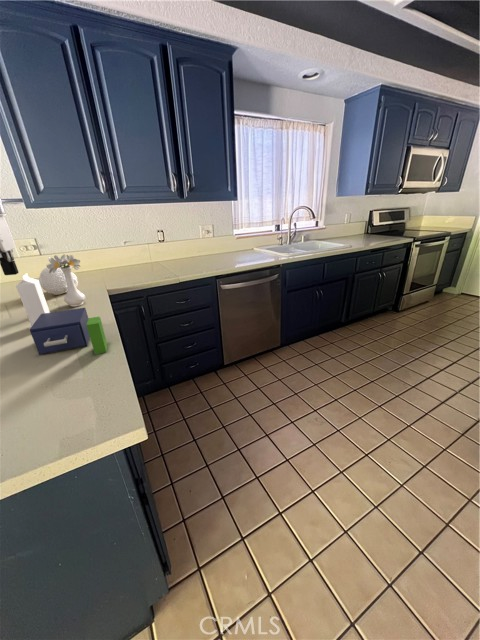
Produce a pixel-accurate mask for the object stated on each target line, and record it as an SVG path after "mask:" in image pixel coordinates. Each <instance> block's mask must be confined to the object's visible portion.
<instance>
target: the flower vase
mask: <svg viewBox="0 0 480 640" xmlns="http://www.w3.org/2000/svg"><path fill="white" fill-rule="evenodd" d="M48 262H49V263H47V264H46V268H48V269H50V270H49V273H51V272H52V270H53V273H54V272H55V271H56V270H57V268H60V269H61V270H62V272H63V273H64V276H65V279H66V282H67V287H68V291H67V292H66V293H65V295H64V297H63V301H64V302H65V303H66V304H67V305H69V306H70V307H73V308H75V307H81V306H82V305H84V302H85V301H86V299H87V298H86V295H85V294H84V293H83V292H82V291H81V290H79V289H78V288H77V287H76V286H75V284H74V281H73V278H72V274H71V272H72V269H74V270H77V271H80V267H81V265H80V263H81V260H80V259H77V258H75V257H74V256H73V254H69V255H68V254H62V255H61V256H59V255H58V254H57V255H55V254H54V255H53V257H50V256H48Z"/></svg>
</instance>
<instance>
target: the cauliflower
mask: <svg viewBox="0 0 480 640" xmlns="http://www.w3.org/2000/svg"><path fill="white" fill-rule="evenodd" d="M49 270H50V269H48V268H47V267H45V268H43V269H42V271H40V274H39V276H38V280H39V283H40V286H41V289H42V290H43V291H45V292H46V293H49V294H51V295H54V296H57V295H58V296H59V295H63V294H66V293H67V291H68V287H67V282H66V279H65V276H64V273H63V272H62V270H61V269H60V268H57V270H56V271H55V272H54V273H53V270H52V272H51V273H49ZM71 274H72V278H73V281H74V284H75V286H76V288H77V287H78V285H79V281H78V277H77V276H76V274H75V273H73V272H72V271H71Z"/></svg>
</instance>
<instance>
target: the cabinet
mask: <svg viewBox="0 0 480 640" xmlns="http://www.w3.org/2000/svg"><path fill="white" fill-rule="evenodd" d="M88 318H89V316H88V312H87V309H86V307H79V308H73V309H71V308H70V309H65V310H57V311H51V312H50V313H44V314H41V315H40V316H39V317H38V319H37V320H36V321H35V323H34V324H33V326H31V327H30V328H29V333H30V335H31V337H32V340H33V342H34V345H35V348H36V351H37V352H38V355H39V356H41V355H46V354H52V353H57V352H58V353H59V352H64V351H68V350H72V349H73V350H74V349H80V348H84V347H88V345H89V341H90V335H89V332H88V329H87V322H88ZM75 324H79V326H80V330H81V333H82V336H83V339H84V343H85V346H80V347H74V348H69V349H64V350H58V351H53V352H48V353H42V354H39V351H38V349H37V346H36V343H35V341H34V338H33V336H32V332H35V331H38V330H44V329H51V328H57V327H63V326H69V325H75Z"/></svg>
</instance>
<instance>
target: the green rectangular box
mask: <svg viewBox="0 0 480 640" xmlns="http://www.w3.org/2000/svg"><path fill="white" fill-rule="evenodd" d="M87 329H88V332H89V335H90V338H89V340H90V342H91V345H92V348H93V352H94V355H100V354H106V353H107V351H108V350H107V349H108V341H107V338H106V334H105V330H104V327H103V323H102V319H101V316H94V317H93V316H92V317H88V322H87Z"/></svg>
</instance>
